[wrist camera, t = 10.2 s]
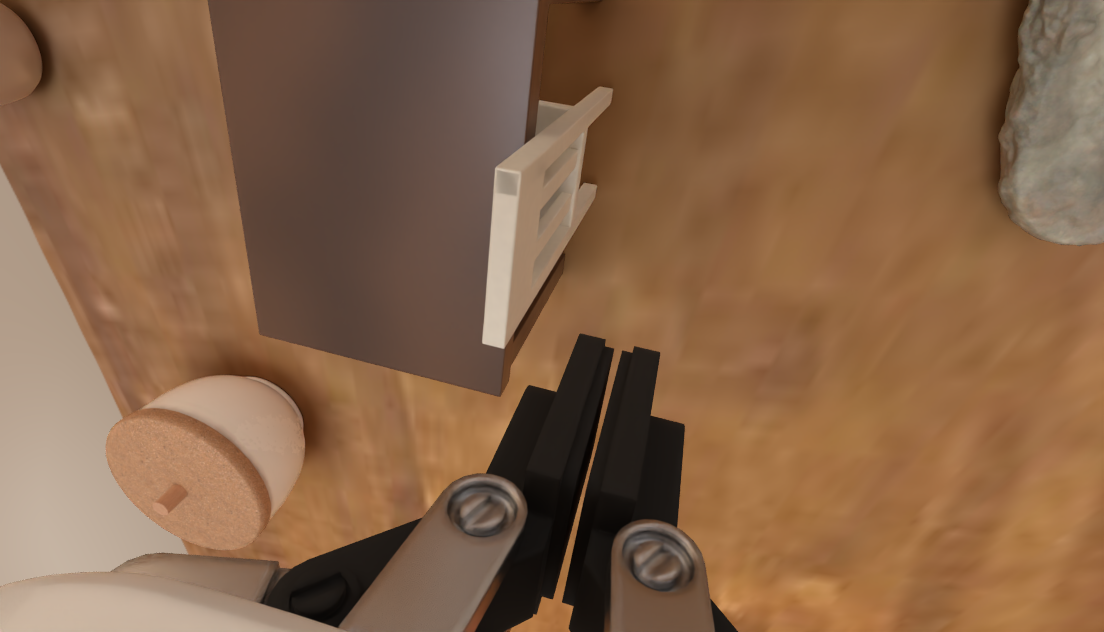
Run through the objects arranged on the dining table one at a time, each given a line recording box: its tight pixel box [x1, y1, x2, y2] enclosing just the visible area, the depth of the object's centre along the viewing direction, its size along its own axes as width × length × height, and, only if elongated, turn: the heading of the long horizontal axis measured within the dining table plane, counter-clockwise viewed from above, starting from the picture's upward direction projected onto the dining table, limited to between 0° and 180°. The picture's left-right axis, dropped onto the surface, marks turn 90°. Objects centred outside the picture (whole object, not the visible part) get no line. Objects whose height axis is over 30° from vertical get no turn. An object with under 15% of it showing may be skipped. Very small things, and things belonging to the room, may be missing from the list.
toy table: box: [208, 0, 602, 397], centre depth 28 cm, size 12×17×13 cm
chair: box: [482, 86, 613, 349], centre depth 26 cm, size 7×6×17 cm
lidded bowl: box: [106, 375, 305, 550], centre depth 45 cm, size 13×13×11 cm
